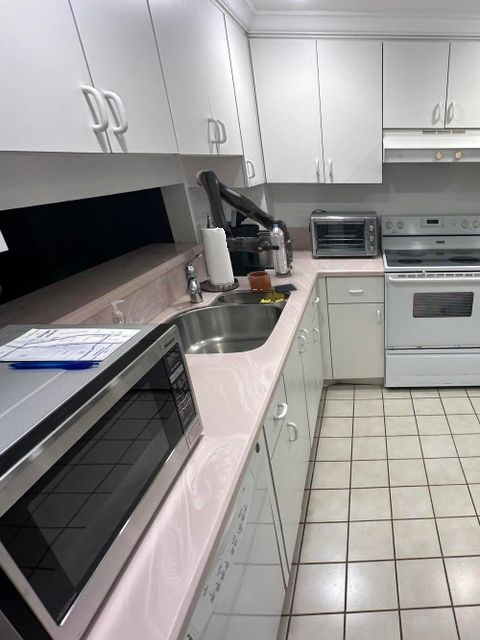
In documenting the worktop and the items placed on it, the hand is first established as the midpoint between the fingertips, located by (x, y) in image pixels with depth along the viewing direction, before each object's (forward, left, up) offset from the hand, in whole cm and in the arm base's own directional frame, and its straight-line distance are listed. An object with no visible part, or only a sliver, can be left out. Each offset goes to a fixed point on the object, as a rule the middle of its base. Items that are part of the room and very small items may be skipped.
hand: (282, 246), depth 201 cm
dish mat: (-1, -1, -23) cm, 23 cm away
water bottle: (-1, -2, -14) cm, 14 cm away
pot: (-8, -13, -23) cm, 28 cm away
